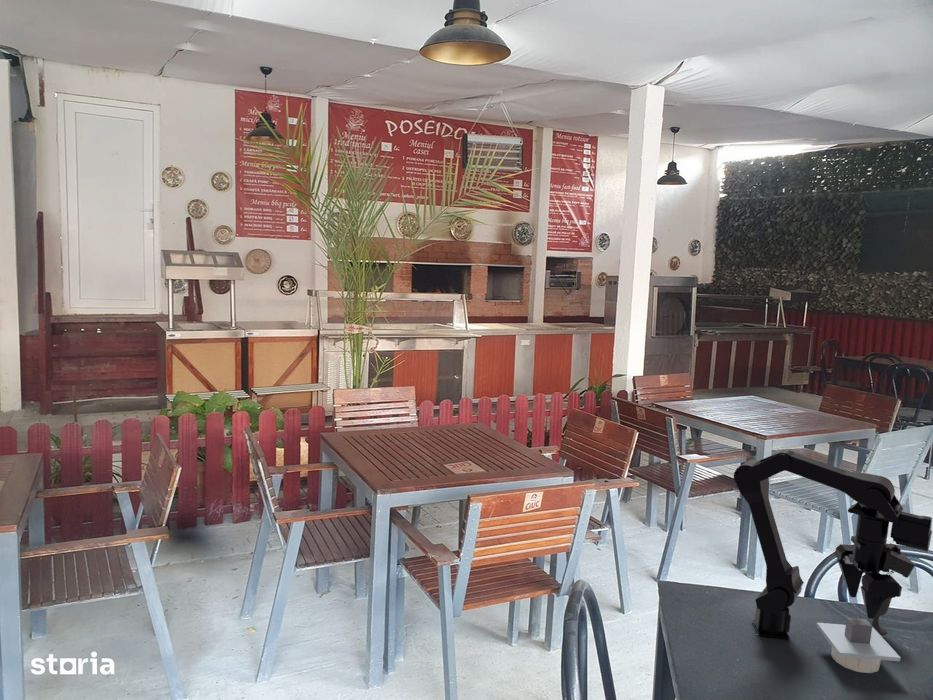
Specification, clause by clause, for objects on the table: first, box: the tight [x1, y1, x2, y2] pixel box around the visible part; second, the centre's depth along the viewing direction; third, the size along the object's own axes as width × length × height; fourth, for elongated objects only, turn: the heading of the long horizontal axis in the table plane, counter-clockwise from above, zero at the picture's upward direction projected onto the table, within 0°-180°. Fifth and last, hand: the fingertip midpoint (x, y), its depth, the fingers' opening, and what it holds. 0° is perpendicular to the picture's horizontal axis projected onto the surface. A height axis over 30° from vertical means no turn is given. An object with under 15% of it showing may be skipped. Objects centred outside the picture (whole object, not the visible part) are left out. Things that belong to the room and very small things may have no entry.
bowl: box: [830, 646, 882, 674], centre depth 156 cm, size 9×9×4 cm
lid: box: [815, 617, 902, 662], centre depth 155 cm, size 12×12×5 cm
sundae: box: [869, 570, 895, 636], centre depth 168 cm, size 7×7×15 cm
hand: (861, 607), depth 154 cm, fingers open, 9 cm apart
